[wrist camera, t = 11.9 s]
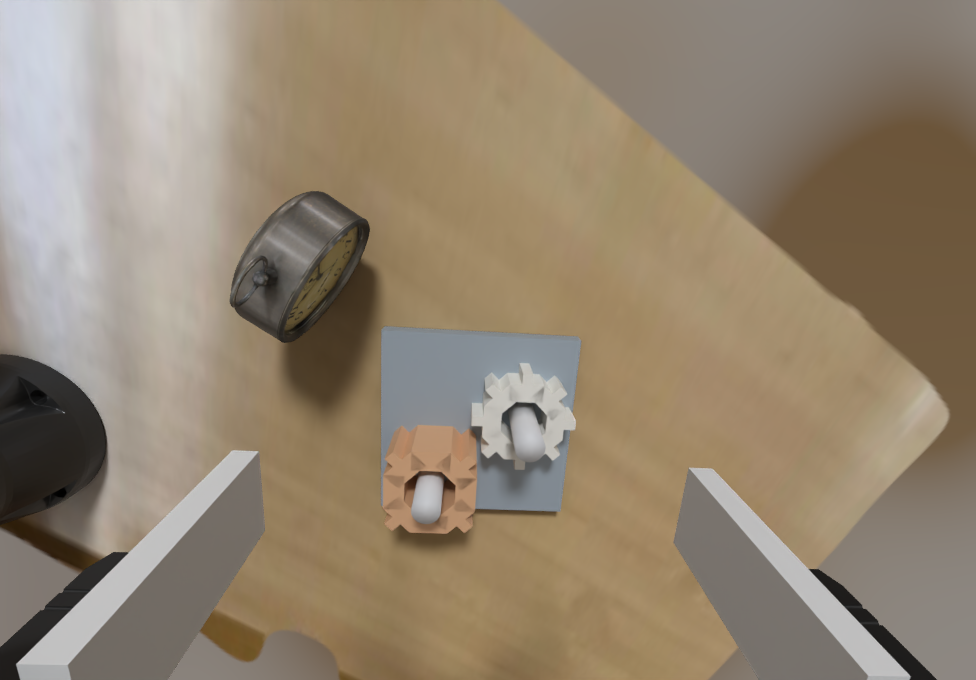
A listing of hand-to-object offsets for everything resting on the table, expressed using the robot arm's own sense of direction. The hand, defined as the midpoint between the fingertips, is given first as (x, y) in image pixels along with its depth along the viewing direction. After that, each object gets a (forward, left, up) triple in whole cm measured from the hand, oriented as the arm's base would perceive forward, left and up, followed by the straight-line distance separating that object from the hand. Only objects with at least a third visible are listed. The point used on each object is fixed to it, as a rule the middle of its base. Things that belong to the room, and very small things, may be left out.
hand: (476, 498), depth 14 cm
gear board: (+1, -11, -29) cm, 31 cm away
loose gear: (-3, -15, -27) cm, 31 cm away
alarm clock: (-13, +4, -29) cm, 32 cm away
